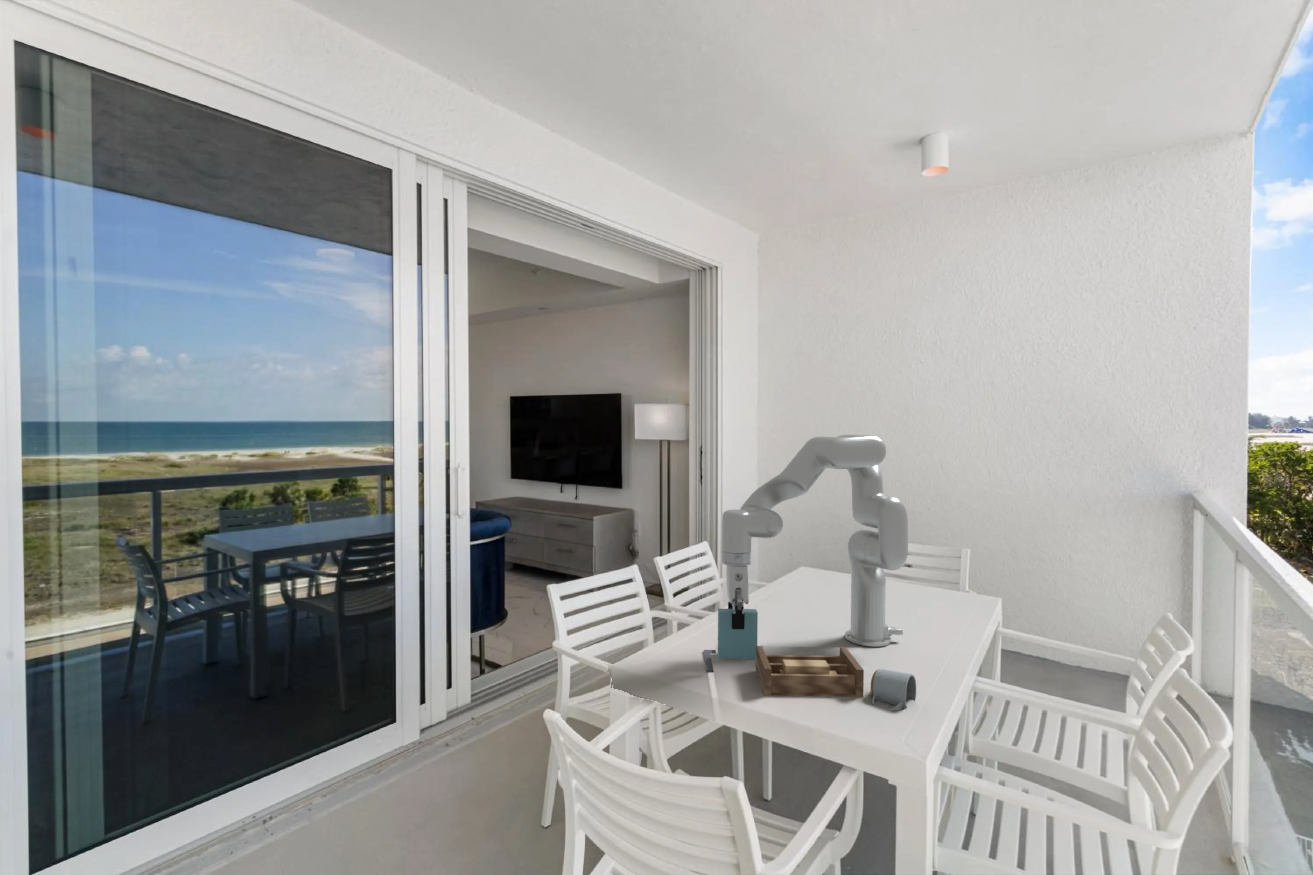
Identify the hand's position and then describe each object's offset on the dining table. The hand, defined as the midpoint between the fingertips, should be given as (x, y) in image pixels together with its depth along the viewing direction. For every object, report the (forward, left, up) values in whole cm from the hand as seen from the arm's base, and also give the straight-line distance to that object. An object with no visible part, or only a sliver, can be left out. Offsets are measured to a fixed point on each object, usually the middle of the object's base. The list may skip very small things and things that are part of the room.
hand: (736, 622), depth 161 cm
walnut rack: (-15, +16, -10) cm, 24 cm away
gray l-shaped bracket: (0, 0, -10) cm, 10 cm away
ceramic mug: (-32, +25, -11) cm, 42 cm away
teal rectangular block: (0, 0, -10) cm, 10 cm away
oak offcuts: (-15, +18, -9) cm, 25 cm away
